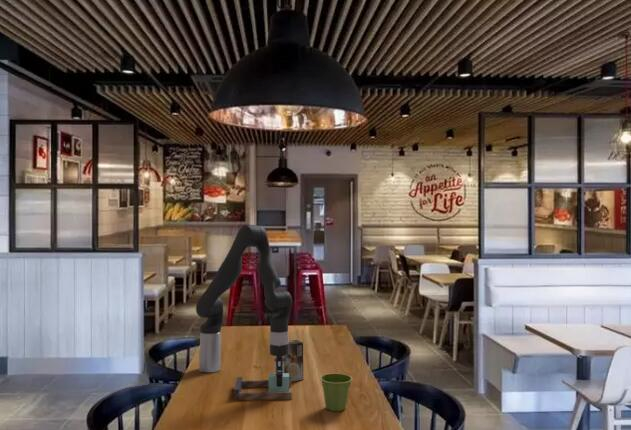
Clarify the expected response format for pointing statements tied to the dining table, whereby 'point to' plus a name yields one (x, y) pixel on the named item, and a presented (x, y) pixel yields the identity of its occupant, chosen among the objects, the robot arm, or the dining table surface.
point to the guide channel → (257, 395)
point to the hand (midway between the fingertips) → (279, 383)
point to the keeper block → (273, 383)
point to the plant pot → (336, 390)
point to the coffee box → (294, 361)
